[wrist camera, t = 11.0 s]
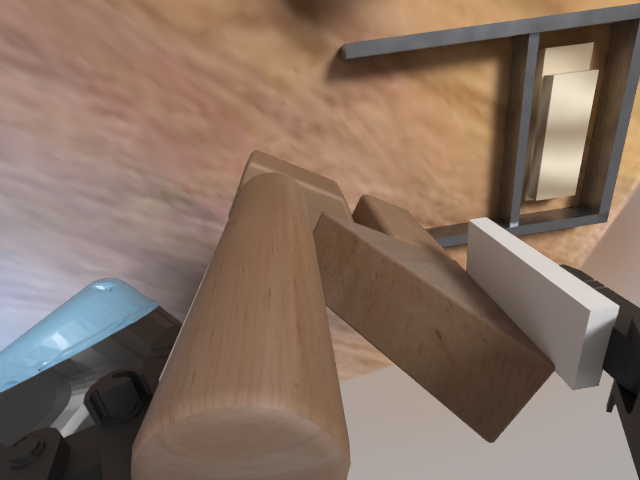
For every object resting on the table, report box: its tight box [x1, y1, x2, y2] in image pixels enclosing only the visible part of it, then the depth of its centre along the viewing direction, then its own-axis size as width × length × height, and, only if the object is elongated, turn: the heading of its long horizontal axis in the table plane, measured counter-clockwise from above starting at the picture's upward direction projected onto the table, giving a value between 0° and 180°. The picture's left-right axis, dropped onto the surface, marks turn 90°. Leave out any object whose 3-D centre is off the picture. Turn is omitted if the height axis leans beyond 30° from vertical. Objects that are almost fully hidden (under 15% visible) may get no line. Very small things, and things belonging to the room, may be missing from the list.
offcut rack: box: [341, 3, 640, 247], centre depth 38 cm, size 22×29×3 cm
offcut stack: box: [521, 42, 599, 201], centre depth 39 cm, size 16×5×3 cm, turn 6°
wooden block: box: [131, 151, 555, 480], centre depth 15 cm, size 4×11×18 cm, turn 67°
